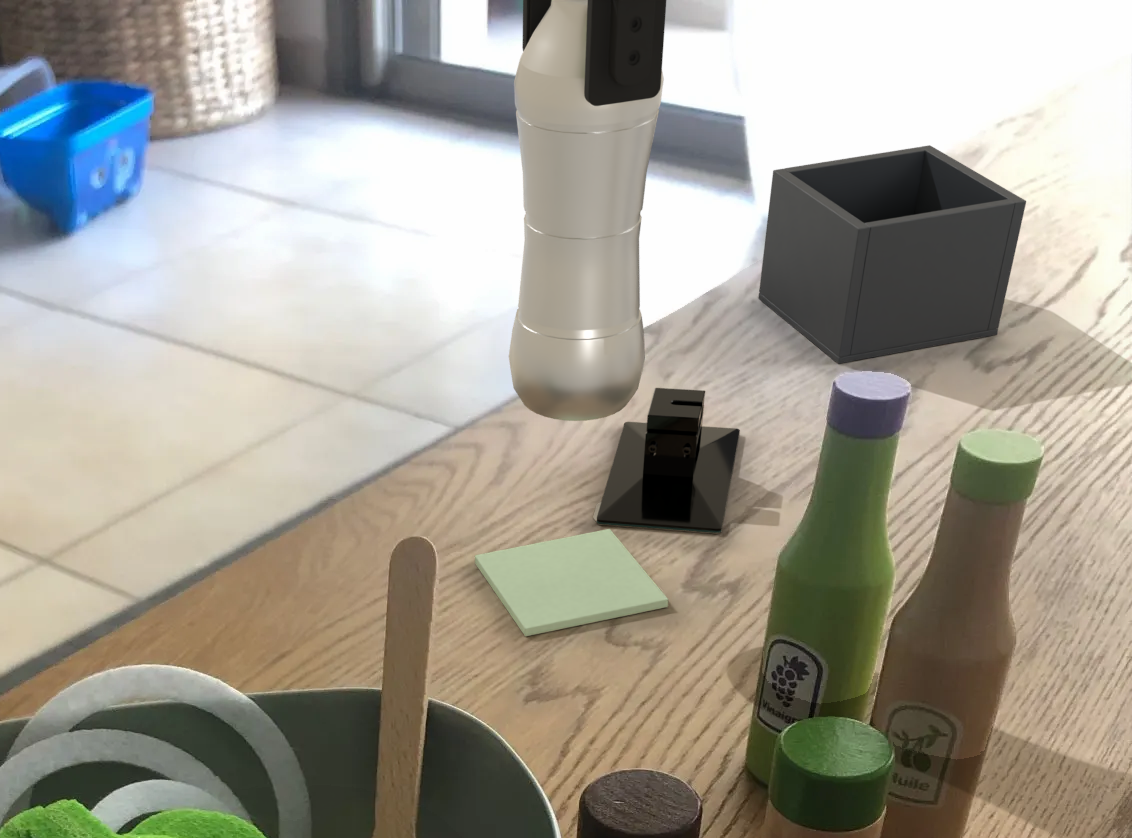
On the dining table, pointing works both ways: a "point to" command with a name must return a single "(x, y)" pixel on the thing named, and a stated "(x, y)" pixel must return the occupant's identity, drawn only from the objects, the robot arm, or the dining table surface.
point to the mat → (569, 582)
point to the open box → (888, 252)
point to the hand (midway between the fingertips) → (588, 72)
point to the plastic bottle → (578, 230)
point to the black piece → (670, 469)
